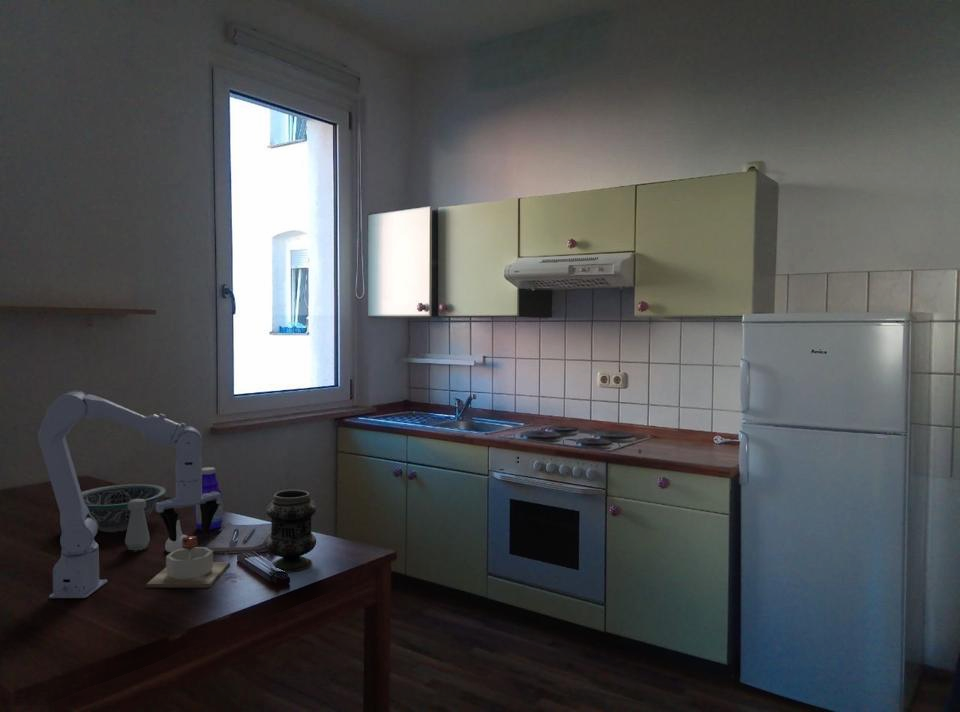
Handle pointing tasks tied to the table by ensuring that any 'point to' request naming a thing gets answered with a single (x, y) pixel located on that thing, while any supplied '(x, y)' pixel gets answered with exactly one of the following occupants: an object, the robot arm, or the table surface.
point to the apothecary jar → (291, 529)
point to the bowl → (119, 503)
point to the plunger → (189, 544)
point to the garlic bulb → (176, 544)
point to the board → (203, 581)
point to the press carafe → (189, 563)
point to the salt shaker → (137, 526)
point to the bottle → (209, 487)
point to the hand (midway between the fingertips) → (189, 536)
